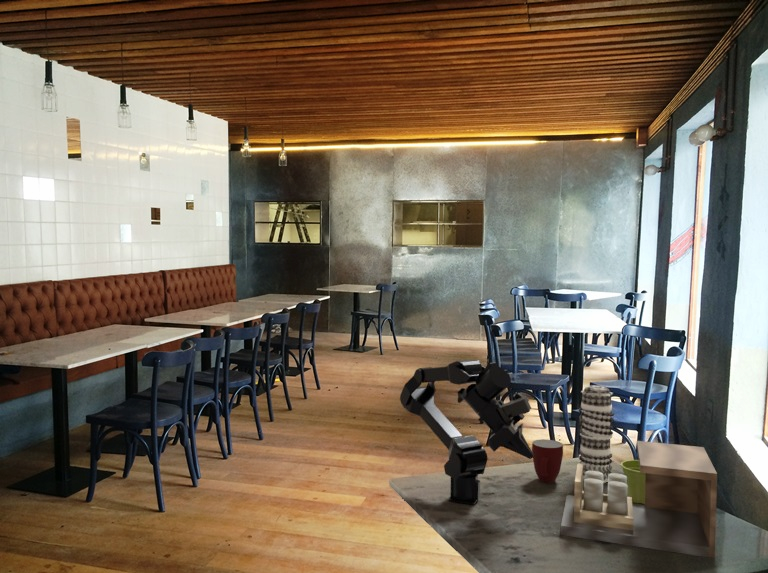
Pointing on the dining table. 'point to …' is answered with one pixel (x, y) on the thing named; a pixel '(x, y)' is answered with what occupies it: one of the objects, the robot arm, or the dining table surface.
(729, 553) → the dining table surface
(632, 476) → the plant pot
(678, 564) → the dining table surface
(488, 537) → the dining table surface
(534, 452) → the mug
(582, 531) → the wooden display stand
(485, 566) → the dining table surface
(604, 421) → the white patterned cylinder
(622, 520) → the tray
